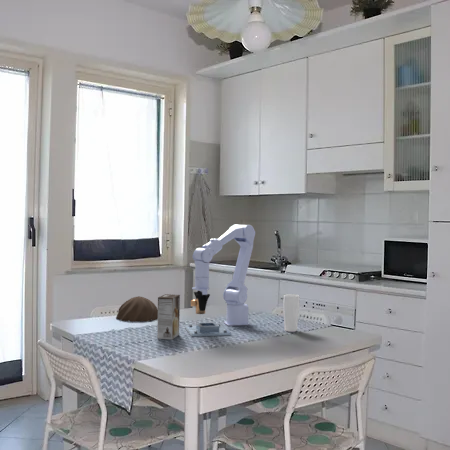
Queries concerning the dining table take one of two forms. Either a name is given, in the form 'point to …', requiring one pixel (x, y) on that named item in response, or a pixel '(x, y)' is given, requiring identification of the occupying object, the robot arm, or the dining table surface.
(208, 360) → the dining table surface
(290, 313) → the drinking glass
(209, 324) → the flange plate
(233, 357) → the dining table surface
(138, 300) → the decorative dome
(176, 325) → the coffee box
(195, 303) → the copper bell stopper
